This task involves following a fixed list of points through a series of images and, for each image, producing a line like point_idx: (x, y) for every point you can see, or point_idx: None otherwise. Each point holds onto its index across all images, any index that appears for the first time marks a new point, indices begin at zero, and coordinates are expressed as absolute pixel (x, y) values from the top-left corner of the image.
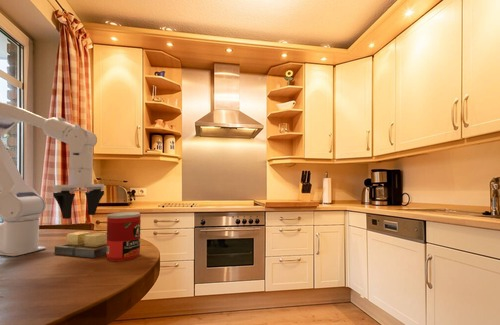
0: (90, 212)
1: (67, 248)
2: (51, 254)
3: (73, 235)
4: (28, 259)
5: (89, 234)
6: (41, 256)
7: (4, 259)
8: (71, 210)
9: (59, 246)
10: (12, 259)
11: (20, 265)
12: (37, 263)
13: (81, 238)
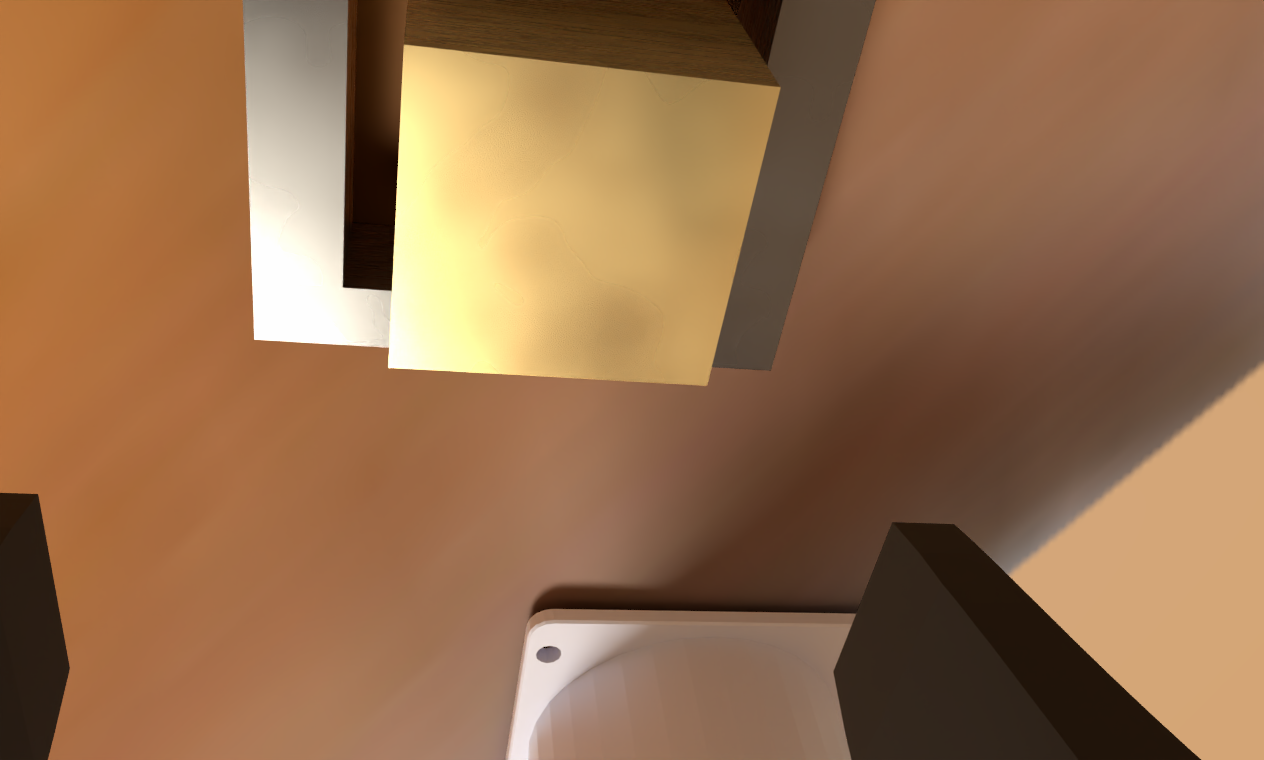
0: (26, 663)
1: (848, 83)
2: None
3: (744, 206)
4: (986, 393)
5: (446, 31)
6: (858, 366)
7: None
8: (1029, 683)
9: (771, 298)
10: None
11: (1239, 252)
12: (1192, 120)
13: (664, 35)
